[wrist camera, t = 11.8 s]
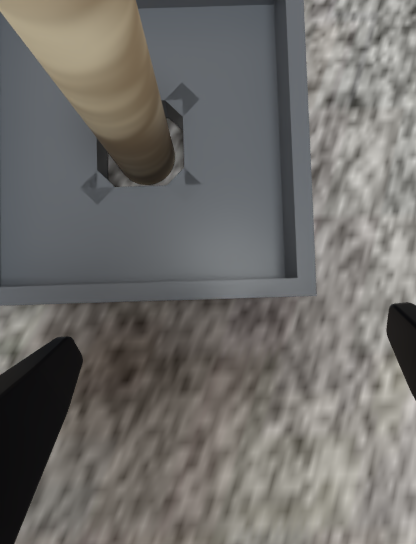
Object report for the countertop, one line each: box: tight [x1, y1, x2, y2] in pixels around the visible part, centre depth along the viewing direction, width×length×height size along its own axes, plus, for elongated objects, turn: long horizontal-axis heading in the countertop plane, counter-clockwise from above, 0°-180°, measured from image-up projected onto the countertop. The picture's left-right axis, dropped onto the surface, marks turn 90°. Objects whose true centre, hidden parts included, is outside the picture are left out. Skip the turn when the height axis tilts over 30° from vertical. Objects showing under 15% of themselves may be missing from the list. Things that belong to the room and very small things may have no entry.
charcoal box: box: [0, 0, 317, 305], centre depth 18 cm, size 20×20×4 cm
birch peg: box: [0, 0, 175, 185], centre depth 14 cm, size 4×4×13 cm
